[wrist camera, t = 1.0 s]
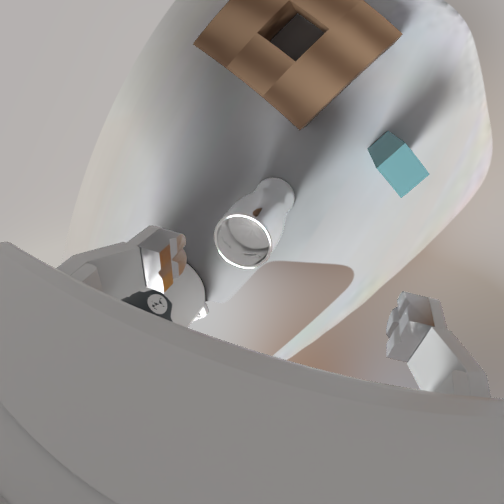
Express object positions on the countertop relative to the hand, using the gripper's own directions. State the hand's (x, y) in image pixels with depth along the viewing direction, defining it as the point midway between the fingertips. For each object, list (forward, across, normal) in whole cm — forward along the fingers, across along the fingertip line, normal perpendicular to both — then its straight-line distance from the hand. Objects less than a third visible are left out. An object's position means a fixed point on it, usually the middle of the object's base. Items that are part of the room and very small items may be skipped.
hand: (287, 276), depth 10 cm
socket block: (+32, +7, -14) cm, 36 cm away
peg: (+32, -7, 0) cm, 33 cm away
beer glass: (+32, +8, +10) cm, 34 cm away
